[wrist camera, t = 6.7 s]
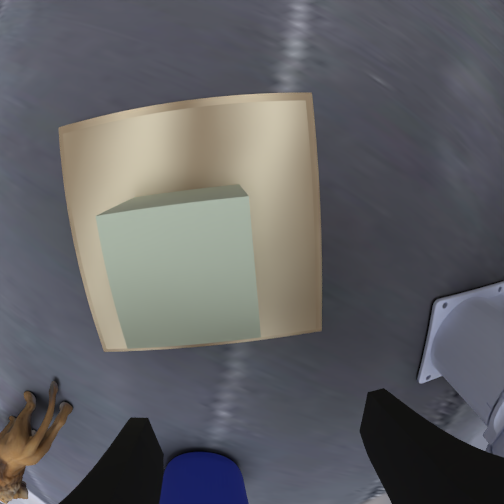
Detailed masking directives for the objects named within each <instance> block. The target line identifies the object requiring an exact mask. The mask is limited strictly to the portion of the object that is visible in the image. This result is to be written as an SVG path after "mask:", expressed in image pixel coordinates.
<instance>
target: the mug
mask: <svg viewBox="0 0 504 504" xmlns="http://www.w3.org/2000/svg"><path fill="white" fill-rule="evenodd" d="M159 504H248V499H247V495H246V490H245V486H244V481H243V477H242V474H241V471H240V469H239V468H238V466H237V465H236V464H235V463H234V462H233V461H232V460H230V459H228V458H226V457H224V456H222V455H219V454H215V453H210V452H190V453H185V454H182V455H179V456H177V457H175V458H173V459H172V460H171V461H170V462H169V463H168V465H167V467H166V469H165V471H164V475H163V482H162V489H161V495H160V502H159Z"/></svg>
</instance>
